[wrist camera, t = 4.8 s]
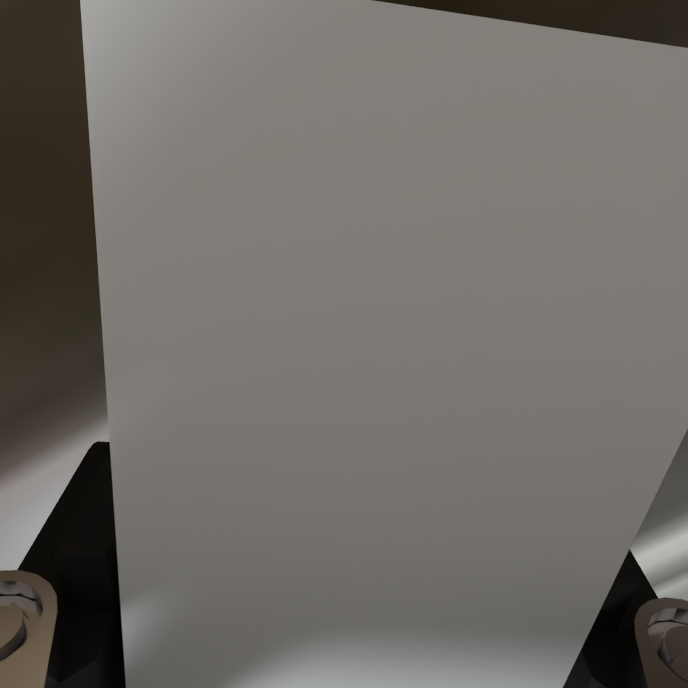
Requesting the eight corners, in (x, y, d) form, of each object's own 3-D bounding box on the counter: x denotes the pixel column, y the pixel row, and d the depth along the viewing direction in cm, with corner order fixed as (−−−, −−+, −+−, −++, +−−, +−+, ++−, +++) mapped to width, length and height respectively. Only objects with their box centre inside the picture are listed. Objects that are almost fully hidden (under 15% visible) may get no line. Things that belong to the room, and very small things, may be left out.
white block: (562, 56, 8) (887, 74, 3) (398, 665, 14) (432, 980, 9) (226, 6, 8) (62, -51, 3) (205, 653, 13) (139, 972, 9)
